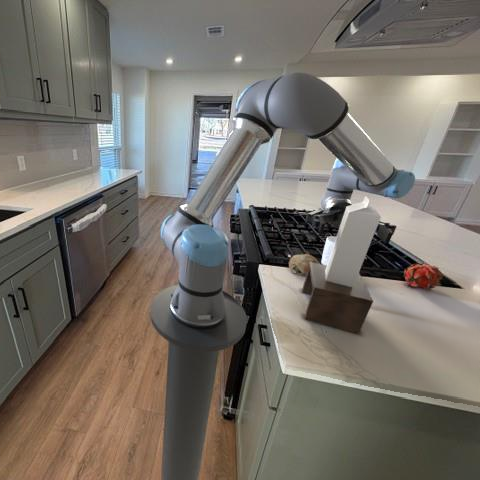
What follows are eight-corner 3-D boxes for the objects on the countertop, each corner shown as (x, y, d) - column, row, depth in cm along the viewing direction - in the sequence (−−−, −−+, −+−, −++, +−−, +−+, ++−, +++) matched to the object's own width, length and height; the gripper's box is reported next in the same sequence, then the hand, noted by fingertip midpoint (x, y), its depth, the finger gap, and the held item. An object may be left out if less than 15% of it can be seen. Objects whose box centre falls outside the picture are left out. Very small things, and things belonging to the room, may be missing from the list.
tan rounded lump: (283, 276, 94) (283, 261, 89) (296, 258, 98) (297, 243, 93) (312, 287, 88) (314, 272, 82) (324, 268, 92) (327, 252, 87)
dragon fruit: (429, 287, 86) (406, 298, 83) (409, 265, 90) (387, 275, 86) (457, 278, 79) (433, 290, 75) (435, 255, 82) (411, 265, 79)
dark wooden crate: (304, 319, 67) (314, 287, 63) (301, 290, 80) (310, 262, 76) (358, 334, 63) (373, 301, 59) (346, 300, 75) (358, 271, 71)
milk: (325, 281, 66) (352, 198, 57) (324, 271, 71) (349, 193, 62) (353, 288, 63) (386, 202, 55) (350, 277, 68) (380, 197, 60)
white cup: (332, 259, 100) (339, 235, 96) (348, 269, 93) (358, 244, 89) (314, 260, 99) (321, 236, 95) (330, 270, 92) (338, 245, 88)
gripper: (384, 229, 77) (412, 257, 59) (293, 216, 86) (294, 237, 68) (394, 205, 74) (427, 227, 56) (298, 194, 83) (301, 211, 65)
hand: (354, 233), depth 62 cm, fingers open, 13 cm apart
